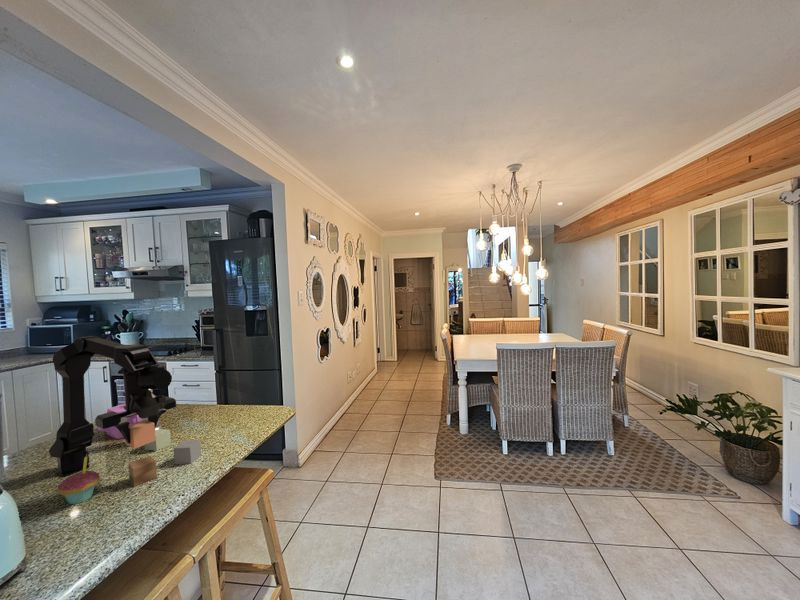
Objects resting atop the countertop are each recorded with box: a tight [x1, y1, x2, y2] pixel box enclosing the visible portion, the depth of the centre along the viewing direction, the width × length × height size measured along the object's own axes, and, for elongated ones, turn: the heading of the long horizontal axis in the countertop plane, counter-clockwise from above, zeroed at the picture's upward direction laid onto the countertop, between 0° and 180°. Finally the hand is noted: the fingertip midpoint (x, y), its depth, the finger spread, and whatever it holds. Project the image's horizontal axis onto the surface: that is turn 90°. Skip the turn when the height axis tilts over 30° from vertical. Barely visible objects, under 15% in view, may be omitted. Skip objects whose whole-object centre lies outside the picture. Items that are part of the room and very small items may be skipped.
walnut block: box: [128, 455, 158, 488], centre depth 102 cm, size 6×6×6 cm
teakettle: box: [96, 401, 142, 440], centre depth 139 cm, size 17×17×12 cm
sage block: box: [144, 428, 172, 452], centre depth 124 cm, size 6×6×6 cm
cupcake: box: [56, 454, 101, 505], centre depth 93 cm, size 9×8×12 cm
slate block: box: [172, 439, 202, 465], centre depth 113 cm, size 6×6×6 cm
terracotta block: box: [124, 420, 156, 449], centre depth 102 cm, size 6×6×6 cm
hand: (140, 439), depth 102 cm, fingers closed on terracotta block, 5 cm apart
